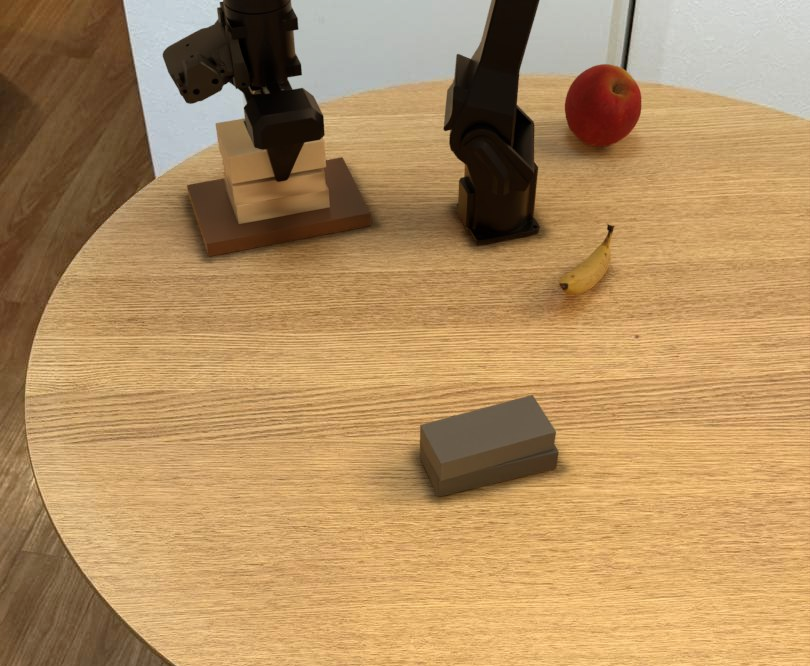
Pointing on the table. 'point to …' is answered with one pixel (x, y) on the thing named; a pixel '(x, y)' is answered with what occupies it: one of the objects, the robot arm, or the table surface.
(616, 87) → the apple
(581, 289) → the banana
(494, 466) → the grey books
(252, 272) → the table surface
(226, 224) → the shelf board
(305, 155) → the cream book
